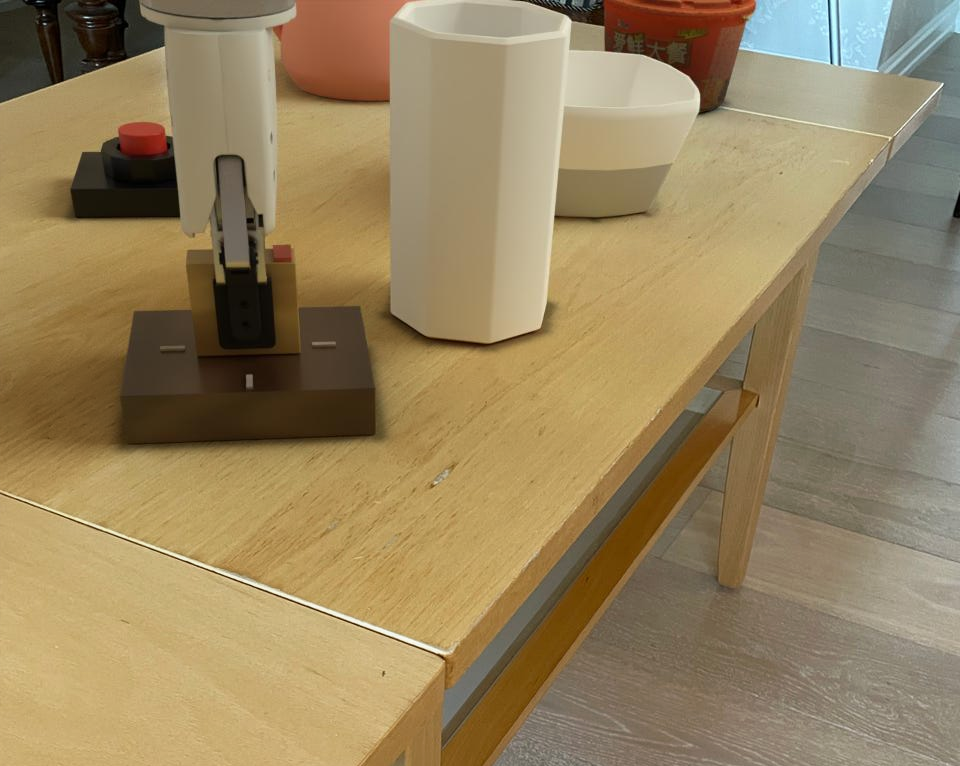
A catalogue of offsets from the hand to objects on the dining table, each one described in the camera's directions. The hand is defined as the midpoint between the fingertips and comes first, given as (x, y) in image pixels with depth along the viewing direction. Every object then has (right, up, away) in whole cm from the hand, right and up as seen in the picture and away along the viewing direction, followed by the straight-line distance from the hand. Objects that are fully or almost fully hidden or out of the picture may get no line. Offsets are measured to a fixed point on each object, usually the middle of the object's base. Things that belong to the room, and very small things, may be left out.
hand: (247, 332), depth 68 cm
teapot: (+2, +41, +56) cm, 69 cm away
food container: (+33, +40, +56) cm, 77 cm away
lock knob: (0, -1, +1) cm, 1 cm away
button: (-13, +21, +25) cm, 35 cm away
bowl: (+22, +20, +32) cm, 44 cm away
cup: (+13, +5, +13) cm, 19 cm away
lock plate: (0, -3, +3) cm, 4 cm away
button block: (-13, +18, +27) cm, 35 cm away
